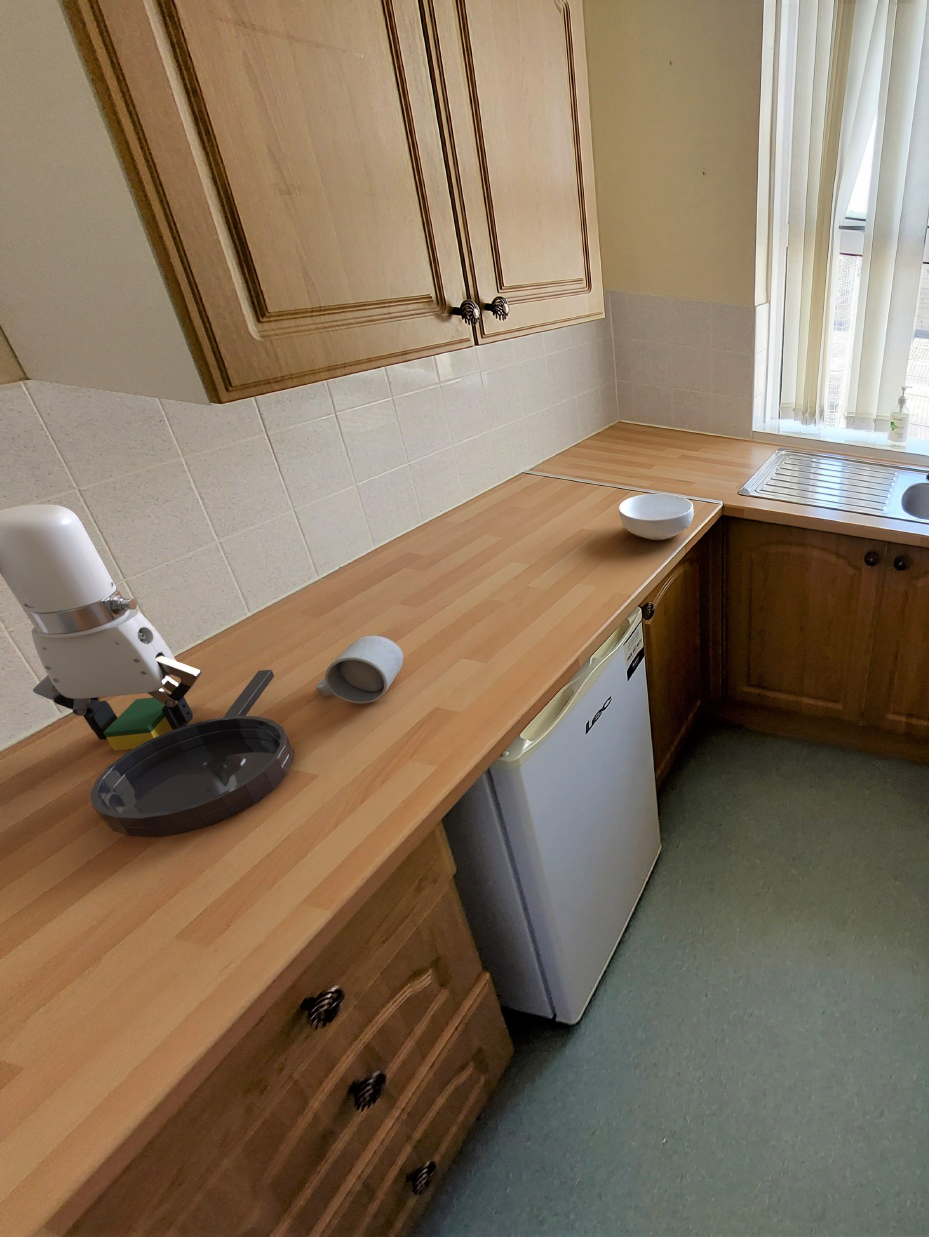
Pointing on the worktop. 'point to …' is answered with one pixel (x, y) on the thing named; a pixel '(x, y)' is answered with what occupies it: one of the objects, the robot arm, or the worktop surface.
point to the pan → (193, 776)
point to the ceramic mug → (363, 670)
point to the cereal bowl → (656, 515)
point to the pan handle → (250, 694)
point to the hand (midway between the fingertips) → (147, 728)
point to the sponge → (138, 724)
